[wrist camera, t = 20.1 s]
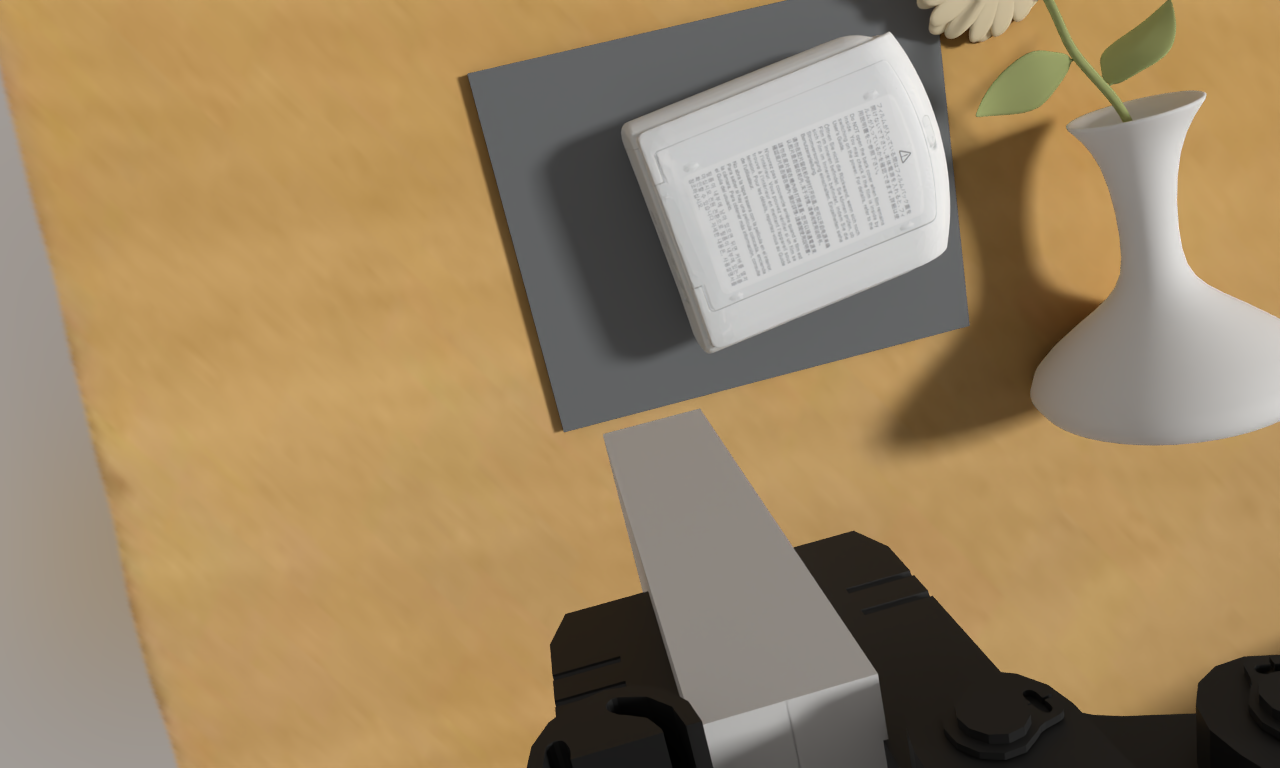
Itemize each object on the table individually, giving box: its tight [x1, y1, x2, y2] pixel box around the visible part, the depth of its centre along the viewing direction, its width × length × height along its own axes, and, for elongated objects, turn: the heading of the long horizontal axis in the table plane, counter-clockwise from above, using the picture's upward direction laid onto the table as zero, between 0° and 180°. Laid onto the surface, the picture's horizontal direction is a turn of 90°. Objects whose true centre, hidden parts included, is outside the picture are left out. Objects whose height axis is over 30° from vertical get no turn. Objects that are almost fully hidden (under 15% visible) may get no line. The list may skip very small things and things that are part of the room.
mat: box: [468, 0, 970, 432], centre depth 39 cm, size 20×16×1 cm
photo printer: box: [621, 32, 950, 353], centre depth 36 cm, size 10×4×12 cm
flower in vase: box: [917, 0, 1280, 445], centre depth 36 cm, size 13×11×25 cm
